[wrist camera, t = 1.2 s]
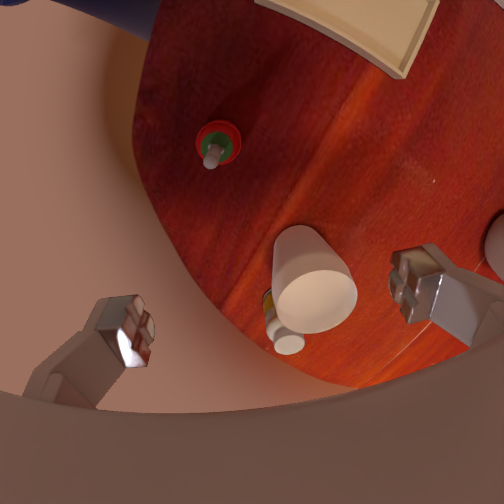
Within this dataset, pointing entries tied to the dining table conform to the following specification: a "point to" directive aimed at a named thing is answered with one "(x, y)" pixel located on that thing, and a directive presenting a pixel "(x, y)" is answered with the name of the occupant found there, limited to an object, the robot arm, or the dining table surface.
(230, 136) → the red maraca
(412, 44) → the tray
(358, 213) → the dining table surface
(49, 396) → the robot arm
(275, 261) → the cup
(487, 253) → the planter
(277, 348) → the supplement bottle
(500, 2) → the cardboard gift box
